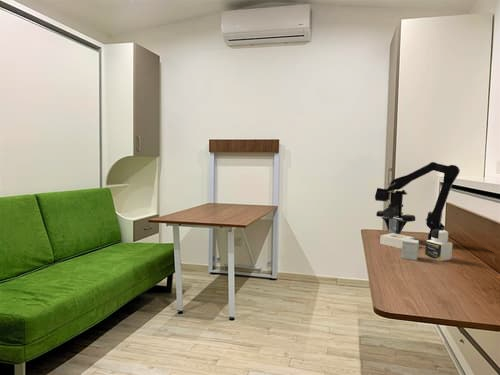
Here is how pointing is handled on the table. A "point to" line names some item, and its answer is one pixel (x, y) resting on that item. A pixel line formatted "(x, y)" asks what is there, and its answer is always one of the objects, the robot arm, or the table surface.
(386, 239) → the socket block
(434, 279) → the table surface
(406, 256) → the product box
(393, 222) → the peg
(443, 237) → the medicine bottle
